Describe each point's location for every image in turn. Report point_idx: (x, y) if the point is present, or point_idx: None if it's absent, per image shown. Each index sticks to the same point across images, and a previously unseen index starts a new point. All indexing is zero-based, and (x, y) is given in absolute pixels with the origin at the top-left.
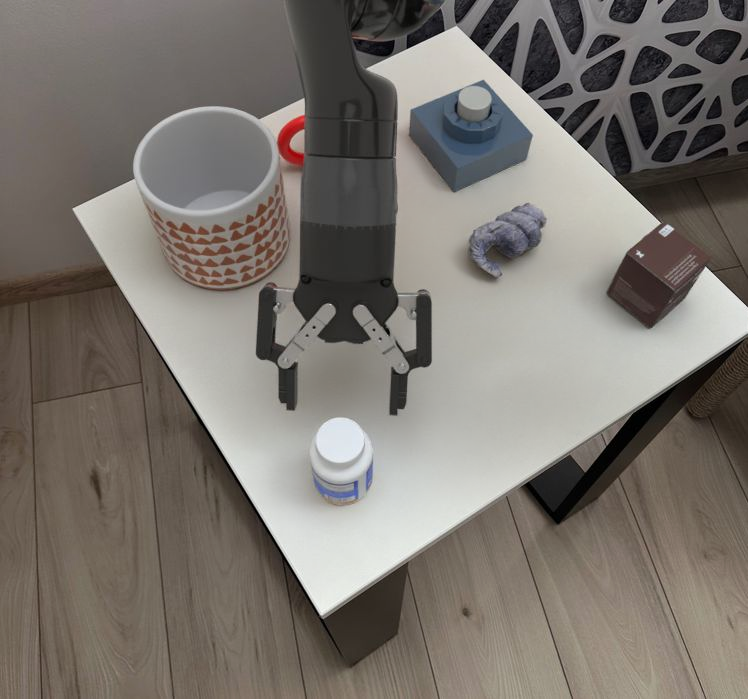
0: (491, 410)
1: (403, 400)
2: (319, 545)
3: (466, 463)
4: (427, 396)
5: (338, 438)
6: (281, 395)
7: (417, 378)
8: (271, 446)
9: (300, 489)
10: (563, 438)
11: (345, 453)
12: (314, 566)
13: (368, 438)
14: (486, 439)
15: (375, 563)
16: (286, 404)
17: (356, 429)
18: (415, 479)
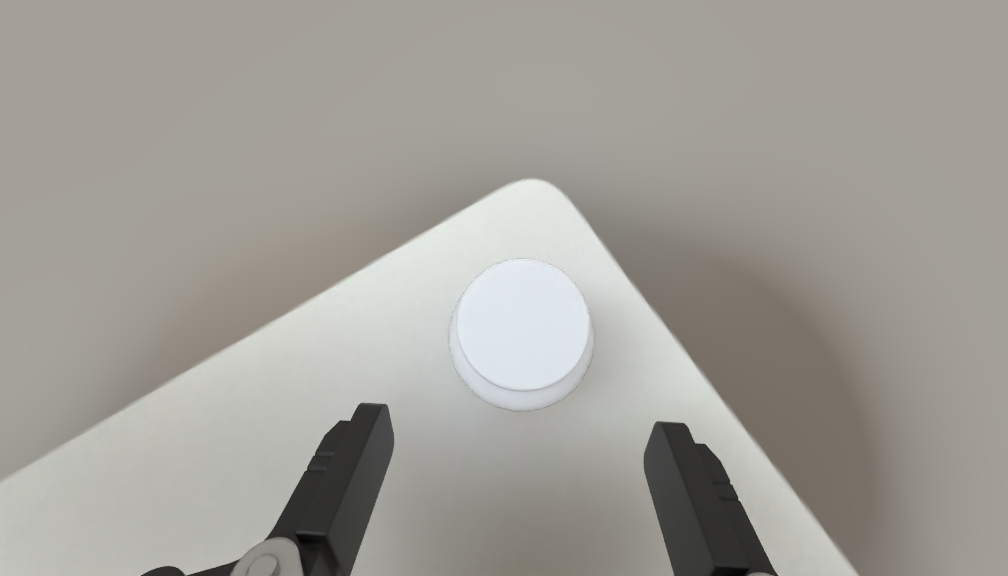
0: (242, 483)
1: (329, 443)
2: (551, 244)
3: (309, 375)
4: None
5: (527, 324)
6: (713, 467)
7: (371, 562)
8: (647, 411)
9: None
10: (131, 422)
11: (507, 281)
12: (557, 216)
13: (455, 362)
14: (265, 421)
15: (469, 220)
16: (690, 436)
17: (477, 351)
18: (398, 347)
